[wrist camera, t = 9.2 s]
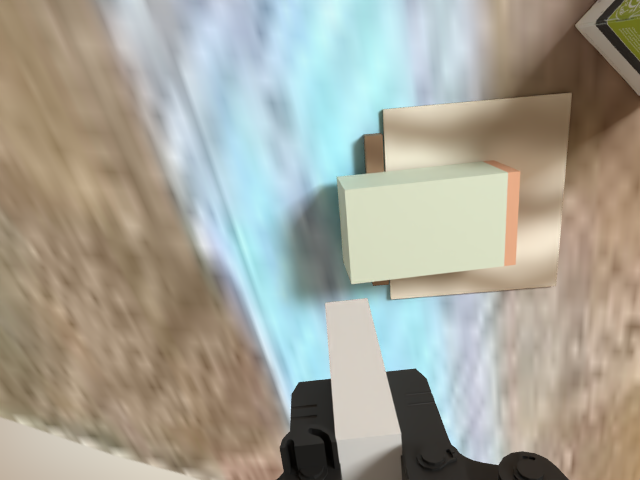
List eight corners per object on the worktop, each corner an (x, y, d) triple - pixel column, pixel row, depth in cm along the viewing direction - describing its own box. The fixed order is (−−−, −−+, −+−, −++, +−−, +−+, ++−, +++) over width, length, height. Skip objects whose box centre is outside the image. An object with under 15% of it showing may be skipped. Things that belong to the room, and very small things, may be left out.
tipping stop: (362, 111, 42) (363, 112, 41) (569, 92, 42) (576, 93, 41) (372, 299, 48) (374, 304, 47) (554, 284, 48) (559, 289, 47)
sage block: (344, 190, 38) (520, 171, 39) (336, 176, 43) (493, 160, 44) (351, 284, 41) (515, 264, 41) (343, 262, 45) (490, 244, 46)
